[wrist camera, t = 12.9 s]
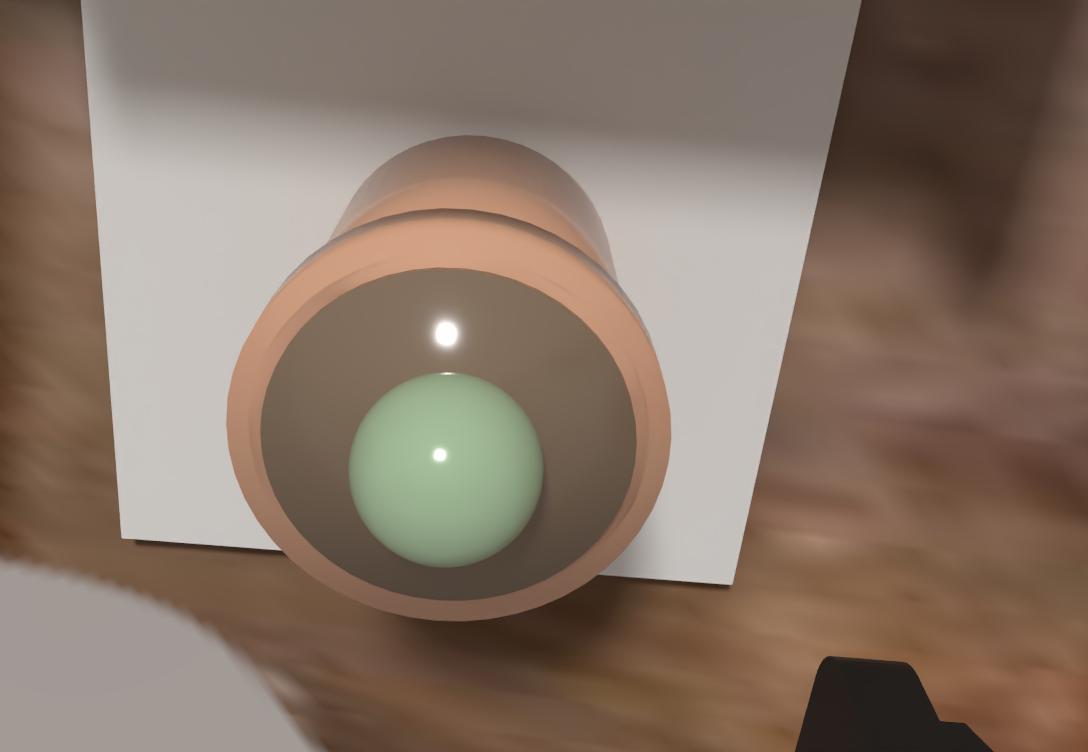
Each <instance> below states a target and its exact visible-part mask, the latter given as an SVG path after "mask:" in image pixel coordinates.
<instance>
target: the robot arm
mask: <svg viewBox="0 0 1088 752" xmlns="http://www.w3.org/2000/svg"><path fill="white" fill-rule="evenodd" d="M795 752H993V751H992V750H991V749H990V748H989V747H988V746H987V745H986V744H985V743H984V742H983V741H982V740H981V739H980V738H979V737H978V736H977V735H976V734H975V733H974V732H973V731H972V730H971V729H970V728H969V727H968V726H967V725H966V724H965V723H956V722H943V721H940V720H939V718H938V716H937V714H936V712H935V710H934V708H933V706H932V704H931V702H930V700H929V698H928V696H927V694H926V692H925V690H924V688H923V686H922V684H921V682H920V679H919V677H918V675H917V674H916V672H915V670H914V669H913V668H912V667H911V666H910V665H909V664H908V663H905V662H897V661H885V660H872V659H860V658H847V657H835V656H828V657H826V658H825V659H824V660H823V661H822V662H821V664H820V666H819V668H818V671H817V674H816V677H815V681H814V685H813V688H812V692H811V695H810V699H809V703H808V706H807V710H806V713H805V717H804V721H803V724H802V728H801V732H800V735H799V739H798V742H797V746H796V750H795Z"/></svg>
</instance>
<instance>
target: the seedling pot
mask: <svg viewBox="0 0 1088 752" xmlns="http://www.w3.org/2000/svg"><path fill="white" fill-rule="evenodd" d="M226 428H227V439H228V449H229V453H230V457H231V461H232V465H233V469H234V473H235V476H236V479H237V481H238V484H239V486H240V489H241V491H242V494H243V496H244V498H245V500H246V502H247V504H248V505H249V507H250V509H251V511H252V512H253V514H254V516H255V518H256V519H257V521H258V522H259V524H260V525H261V526H262V528H263V529H264V530H265V531H266V533H267V534H268V535H269V537H270V538H271V539H272V541H273V542H274V543H275V544H276V545H277V546H278V547H279V548H280V549H281V550H282V551H283V552H284V553H285V554H286V555H287V556H288V557H289V558H290V559H291V560H292V561H293V562H294V563H296V564H297V565H298V566H299V567H301V568H302V569H303V570H304V571H306V572H307V573H308V574H309V575H311V576H312V577H314V578H315V579H317V580H318V581H320V582H321V583H323V584H325V585H326V586H328V587H329V588H331V589H333V590H334V591H336V592H338V593H340V594H343V595H345V596H347V597H349V598H351V599H353V600H355V601H357V602H359V603H362V604H365V605H368V606H371V607H374V608H376V609H379V610H382V611H385V612H390V613H394V614H398V615H402V616H406V617H412V618H419V619H427V620H435V621H472V620H485V619H492V618H498V617H503V616H508V615H513V614H517V613H520V612H524V611H527V610H530V609H534V608H537V607H540V606H542V605H545V604H547V603H549V602H552V601H554V600H556V599H559V598H561V597H563V596H565V595H567V594H568V593H570V592H572V591H574V590H575V589H577V588H579V587H581V586H582V585H584V584H586V583H587V582H588V581H590V580H591V579H592V578H594V577H595V576H596V575H598V574H599V573H600V572H602V571H603V570H604V569H606V568H607V567H608V566H609V565H610V564H611V563H612V562H613V561H614V560H615V559H616V558H617V557H618V556H619V555H620V554H621V553H622V552H624V550H625V549H626V548H627V547H628V545H629V544H630V543H631V542H632V540H633V539H634V538H635V537H636V535H637V534H638V533H639V532H640V530H641V528H642V527H643V525H644V523H645V522H646V520H647V518H648V517H649V515H650V513H651V512H652V510H653V508H654V505H655V503H656V501H657V498H658V496H659V494H660V491H661V489H662V486H663V482H664V479H665V475H666V471H667V467H668V463H669V455H670V446H671V413H670V407H669V402H668V397H667V391H666V386H665V383H664V379H663V376H662V372H661V369H660V365H659V362H658V358H657V355H656V352H655V349H654V346H653V343H652V340H651V338H650V335H649V332H648V330H647V328H646V326H645V324H644V322H643V320H642V318H641V317H640V315H639V313H638V311H637V309H636V308H635V306H634V305H633V303H632V302H631V300H630V299H629V298H628V296H627V295H626V293H625V292H624V291H623V289H622V288H621V287H620V286H619V284H618V280H617V276H616V271H615V267H614V263H613V259H612V255H611V251H610V246H609V242H608V238H607V235H606V232H605V229H604V226H603V223H602V220H601V218H600V216H599V214H598V212H597V211H596V209H595V207H594V205H593V203H592V202H591V200H590V199H589V197H588V196H587V194H586V193H585V192H584V190H583V189H582V188H581V187H580V185H579V184H578V183H577V182H576V181H575V180H574V179H573V178H572V177H571V176H570V175H569V174H568V173H567V172H566V171H564V170H563V169H562V168H561V167H560V166H558V165H557V164H556V163H555V162H553V161H551V160H550V159H548V158H547V157H545V156H543V155H542V154H540V153H538V152H536V151H534V150H532V149H530V148H528V147H525V146H523V145H520V144H517V143H514V142H511V141H508V140H504V139H499V138H493V137H488V136H473V135H462V136H451V137H444V138H439V139H435V140H431V141H427V142H424V143H421V144H419V145H416V146H413V147H411V148H409V149H407V150H405V151H403V152H401V153H399V154H397V155H395V156H394V157H392V158H391V159H389V160H388V161H387V162H385V163H384V164H383V165H381V166H380V167H378V168H377V169H376V170H375V171H374V172H373V173H372V174H371V175H370V176H369V177H368V178H367V179H366V180H365V181H364V182H363V184H362V185H361V186H360V188H359V189H358V190H357V191H356V193H355V194H354V196H353V197H352V199H351V201H350V203H349V204H348V206H347V208H346V210H345V211H344V213H343V215H342V217H341V218H340V220H339V222H338V224H337V226H336V227H335V229H334V231H333V233H332V235H331V236H330V238H329V240H328V242H327V243H326V244H325V245H324V246H322V247H321V248H319V249H318V250H317V251H315V252H314V253H312V254H311V255H310V256H308V257H307V258H306V259H305V260H304V261H303V262H302V263H301V264H300V265H299V266H298V267H297V268H296V269H295V270H294V271H293V272H292V273H291V274H290V275H288V277H287V278H286V279H285V281H284V282H283V283H282V284H281V286H280V287H279V288H278V290H277V291H276V292H275V294H274V295H273V296H272V298H271V299H270V301H269V302H268V304H267V306H266V307H265V309H264V311H263V312H262V314H261V315H260V317H259V319H258V320H257V322H256V323H255V325H254V327H253V329H252V331H251V332H250V334H249V336H248V338H247V340H246V341H245V343H244V345H243V347H242V349H241V352H240V354H239V357H238V360H237V362H236V365H235V368H234V370H233V374H232V378H231V383H230V388H229V393H228V398H227V416H226Z"/></svg>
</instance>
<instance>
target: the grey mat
mask: <svg viewBox="0 0 1088 752" xmlns="http://www.w3.org/2000/svg"><path fill="white" fill-rule="evenodd" d="M861 1H862V0H81V9H82V22H83V35H84V49H85V62H86V75H87V88H88V101H89V114H90V128H91V141H92V154H93V167H94V180H95V193H96V207H97V220H98V233H99V246H100V259H101V272H102V285H103V299H104V312H105V325H106V338H107V351H108V364H109V378H110V391H111V404H112V417H113V430H114V443H115V457H116V470H117V483H118V496H119V509H120V522H121V536H122V538H127V539H140V540H153V541H166V542H179V543H192V544H205V545H218V546H231V547H244V548H257V549H270V550H281V549H280V548H279V547H278V546H277V545H276V544H275V543H274V542H273V541H272V539H271V538H270V537H269V535H268V534H267V533H266V531H265V530H264V529H263V528H262V526H261V525H260V524H259V522H258V521H257V519H256V518H255V516H254V514H253V512H252V511H251V509H250V507H249V505H248V504H247V502H246V500H245V498H244V496H243V494H242V491H241V489H240V486H239V484H238V481H237V479H236V476H235V473H234V469H233V465H232V461H231V457H230V453H229V449H228V439H227V428H226V416H227V398H228V393H229V388H230V383H231V378H232V374H233V370H234V368H235V365H236V362H237V360H238V357H239V354H240V352H241V349H242V347H243V345H244V343H245V341H246V340H247V338H248V336H249V334H250V332H251V331H252V329H253V327H254V325H255V323H256V322H257V320H258V319H259V317H260V315H261V314H262V312H263V311H264V309H265V307H266V306H267V304H268V302H269V301H270V299H271V298H272V296H273V295H274V294H275V292H276V291H277V290H278V288H279V287H280V286H281V284H282V283H283V282H284V281H285V279H286V278H287V277H288V275H290V274H291V273H292V272H293V271H294V270H295V269H296V268H297V267H298V266H299V265H300V264H301V263H302V262H303V261H304V260H305V259H306V258H307V257H308V256H310V255H311V254H312V253H314V252H315V251H317V250H318V249H319V248H321V247H322V246H324V245H325V244H326V243H327V242H328V240H329V238H330V236H331V235H332V233H333V231H334V229H335V227H336V226H337V224H338V222H339V220H340V218H341V217H342V215H343V213H344V211H345V210H346V208H347V206H348V204H349V203H350V201H351V199H352V197H353V196H354V194H355V193H356V191H357V190H358V189H359V188H360V186H361V185H362V184H363V182H364V181H365V180H366V179H367V178H368V177H369V176H370V175H371V174H372V173H373V172H374V171H375V170H376V169H377V168H378V167H380V166H381V165H383V164H384V163H385V162H387V161H388V160H389V159H391V158H392V157H394V156H395V155H397V154H399V153H401V152H403V151H405V150H407V149H409V148H411V147H413V146H416V145H419V144H421V143H424V142H427V141H431V140H435V139H439V138H444V137H451V136H462V135H473V136H488V137H493V138H499V139H504V140H508V141H511V142H514V143H517V144H520V145H523V146H525V147H528V148H530V149H532V150H534V151H536V152H538V153H540V154H542V155H543V156H545V157H547V158H548V159H550V160H551V161H553V162H555V163H556V164H557V165H558V166H560V167H561V168H562V169H563V170H564V171H566V172H567V173H568V174H569V175H570V176H571V177H572V178H573V179H574V180H575V181H576V182H577V183H578V184H579V185H580V187H581V188H582V189H583V190H584V192H585V193H586V194H587V196H588V197H589V199H590V200H591V202H592V203H593V205H594V207H595V209H596V211H597V212H598V214H599V216H600V218H601V220H602V223H603V226H604V229H605V232H606V235H607V238H608V242H609V246H610V251H611V255H612V259H613V263H614V267H615V271H616V276H617V280H618V284H619V286H620V287H621V288H622V289H623V291H624V292H625V293H626V295H627V296H628V298H629V299H630V300H631V302H632V303H633V305H634V306H635V308H636V309H637V311H638V313H639V315H640V317H641V318H642V320H643V322H644V324H645V326H646V328H647V330H648V332H649V335H650V338H651V340H652V343H653V346H654V349H655V352H656V355H657V358H658V362H659V365H660V369H661V372H662V376H663V379H664V383H665V386H666V391H667V397H668V402H669V407H670V413H671V446H670V455H669V463H668V467H667V471H666V475H665V479H664V482H663V486H662V489H661V491H660V494H659V496H658V498H657V501H656V503H655V505H654V508H653V510H652V512H651V513H650V515H649V517H648V518H647V520H646V522H645V523H644V525H643V527H642V528H641V530H640V532H639V533H638V534H637V535H636V537H635V538H634V539H633V540H632V542H631V543H630V544H629V545H628V547H627V548H626V549H625V550H624V552H622V553H621V554H620V555H619V556H618V557H617V558H616V559H615V560H614V561H613V562H612V563H611V564H610V565H609V566H608V567H607V568H606V569H604V570H603V571H602V572H600V573H599V574H598V575H610V576H623V577H636V578H649V579H662V580H675V581H688V582H701V583H714V584H727V585H732V584H733V580H734V575H735V570H736V566H737V561H738V557H739V552H740V548H741V543H742V539H743V534H744V530H745V525H746V521H747V516H748V512H749V507H750V503H751V498H752V494H753V489H754V485H755V480H756V476H757V471H758V467H759V462H760V457H761V453H762V448H763V444H764V439H765V435H766V430H767V426H768V421H769V417H770V412H771V408H772V403H773V399H774V394H775V390H776V385H777V381H778V376H779V372H780V367H781V363H782V358H783V354H784V349H785V344H786V340H787V335H788V331H789V326H790V322H791V317H792V313H793V308H794V304H795V299H796V295H797V290H798V286H799V281H800V277H801V272H802V268H803V263H804V259H805V254H806V250H807V245H808V241H809V236H810V231H811V227H812V222H813V218H814V213H815V209H816V204H817V200H818V195H819V191H820V186H821V182H822V177H823V173H824V168H825V164H826V159H827V155H828V150H829V146H830V141H831V137H832V132H833V128H834V123H835V118H836V114H837V109H838V105H839V100H840V96H841V91H842V87H843V82H844V78H845V73H846V69H847V64H848V60H849V55H850V51H851V46H852V42H853V37H854V33H855V28H856V24H857V19H858V15H859V10H860V5H861Z"/></svg>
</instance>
